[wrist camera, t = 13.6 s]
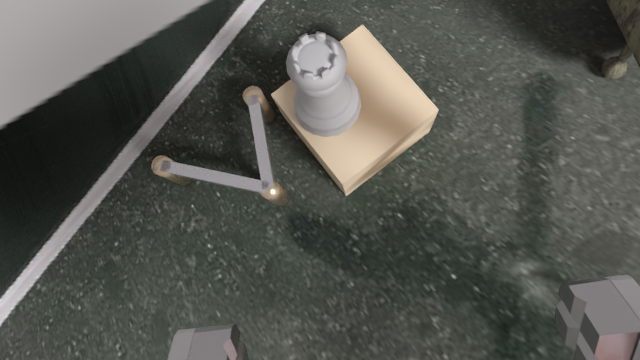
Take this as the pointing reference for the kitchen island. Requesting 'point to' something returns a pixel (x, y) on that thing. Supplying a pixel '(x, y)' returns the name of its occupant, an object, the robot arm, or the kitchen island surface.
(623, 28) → the tabletop clock
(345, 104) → the rook chess piece
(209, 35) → the kitchen island surface
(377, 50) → the pedestal
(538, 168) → the kitchen island surface
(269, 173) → the railing
